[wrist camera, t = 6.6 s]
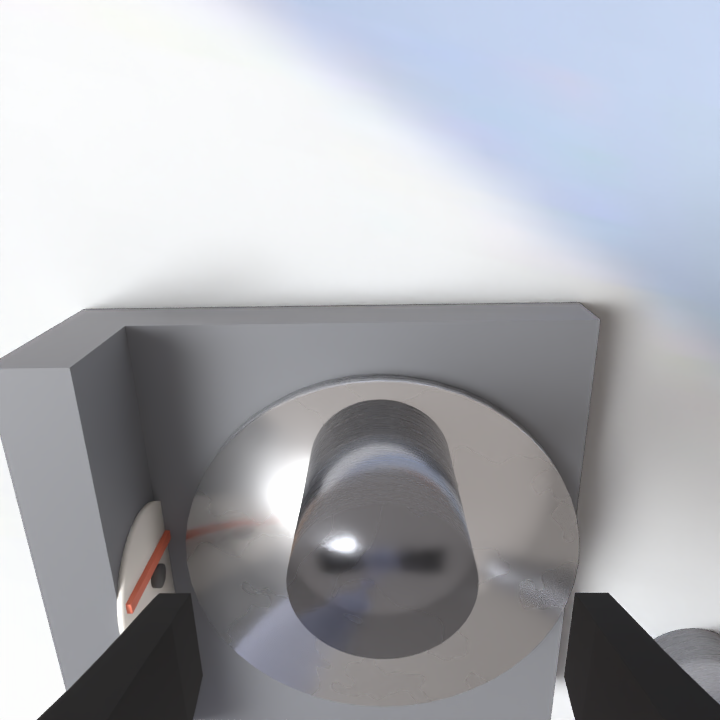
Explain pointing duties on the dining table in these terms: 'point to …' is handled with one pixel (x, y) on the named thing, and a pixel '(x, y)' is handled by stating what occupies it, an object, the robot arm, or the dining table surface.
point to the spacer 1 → (381, 536)
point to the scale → (215, 426)
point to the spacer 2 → (696, 656)
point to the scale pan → (484, 522)
